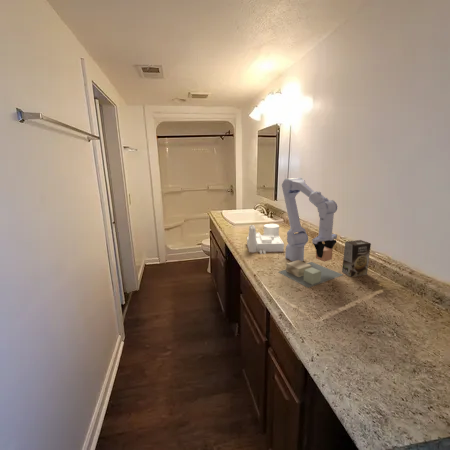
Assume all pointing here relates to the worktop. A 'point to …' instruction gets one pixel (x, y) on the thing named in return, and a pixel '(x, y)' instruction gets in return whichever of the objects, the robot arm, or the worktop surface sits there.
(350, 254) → the coffee box
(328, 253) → the terracotta cube
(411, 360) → the worktop surface
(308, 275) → the sage cube
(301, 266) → the birch slab
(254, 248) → the power plant
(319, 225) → the robot arm
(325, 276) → the slate mat
